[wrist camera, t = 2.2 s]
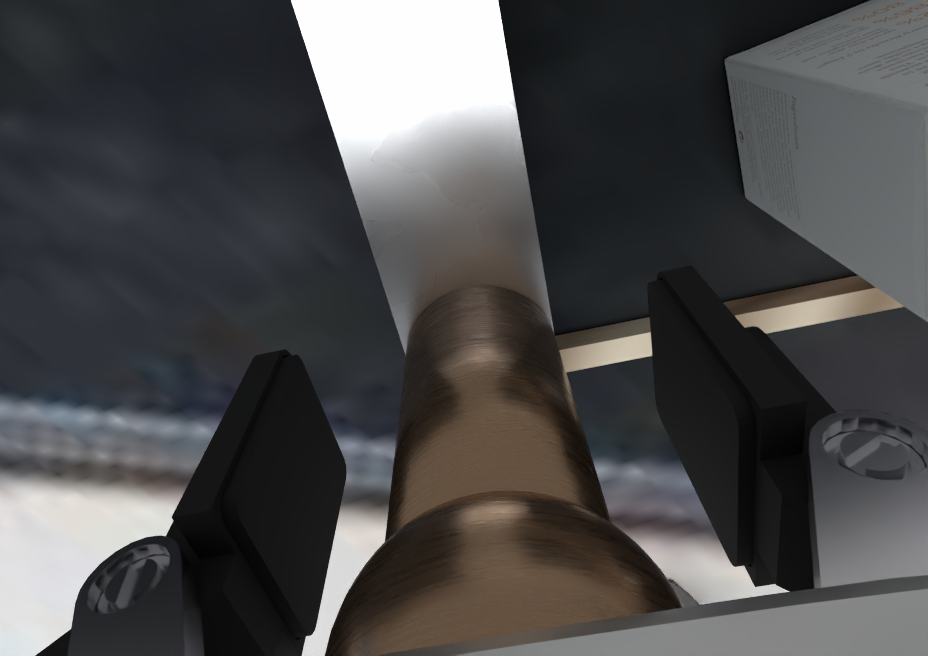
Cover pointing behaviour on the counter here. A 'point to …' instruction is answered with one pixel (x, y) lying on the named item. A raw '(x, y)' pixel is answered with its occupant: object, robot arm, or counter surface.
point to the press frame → (752, 311)
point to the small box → (844, 139)
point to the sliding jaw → (464, 344)
